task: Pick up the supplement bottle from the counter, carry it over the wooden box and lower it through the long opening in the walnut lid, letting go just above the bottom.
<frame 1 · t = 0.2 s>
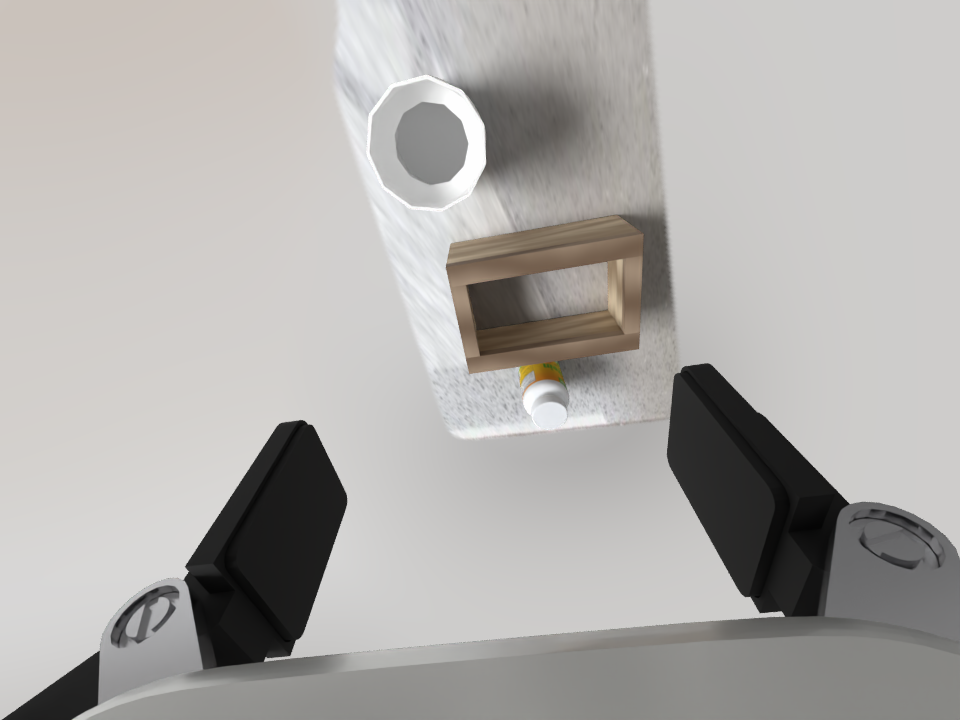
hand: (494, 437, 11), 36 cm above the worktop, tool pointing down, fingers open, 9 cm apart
supplement bottle: (538, 368, 53), on the worktop
vase: (439, 139, 39), on the worktop
wooden box: (537, 281, 47), on the worktop
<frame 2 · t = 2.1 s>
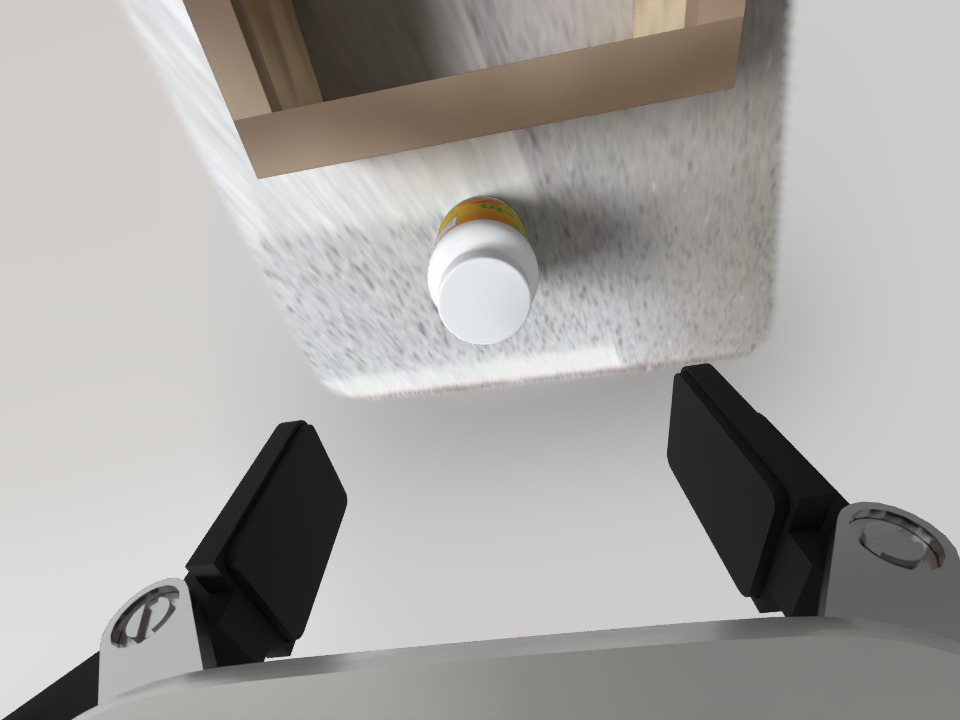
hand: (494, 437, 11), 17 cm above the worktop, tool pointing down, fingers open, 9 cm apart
supplement bottle: (481, 239, 25), on the worktop
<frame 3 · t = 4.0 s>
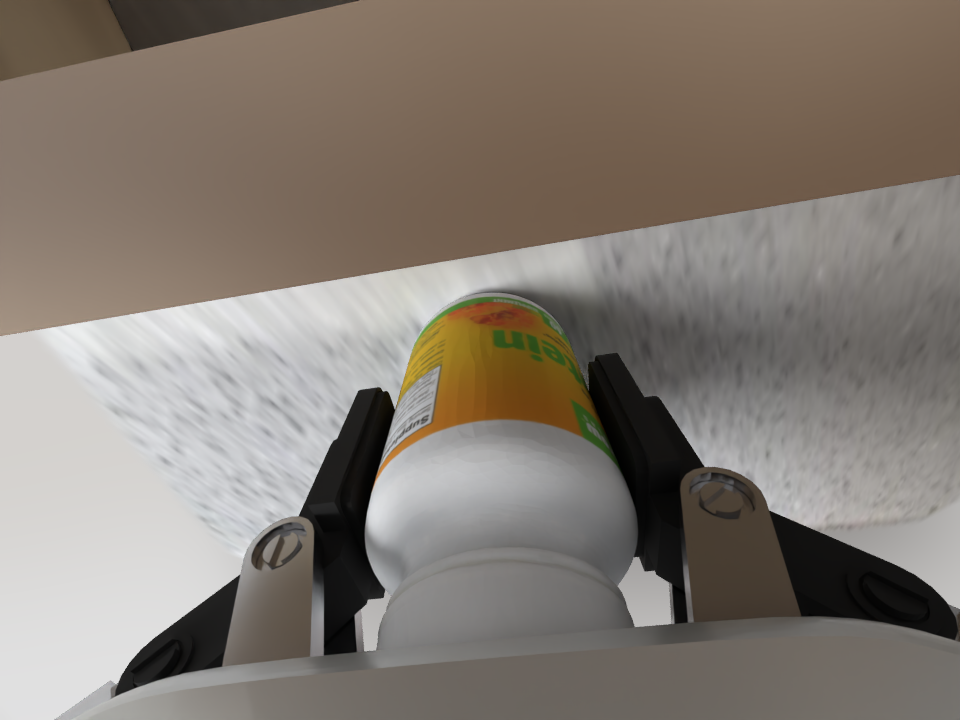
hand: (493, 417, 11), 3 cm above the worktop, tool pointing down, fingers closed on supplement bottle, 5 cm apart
supplement bottle: (491, 359, 14), on the worktop, touching gripper
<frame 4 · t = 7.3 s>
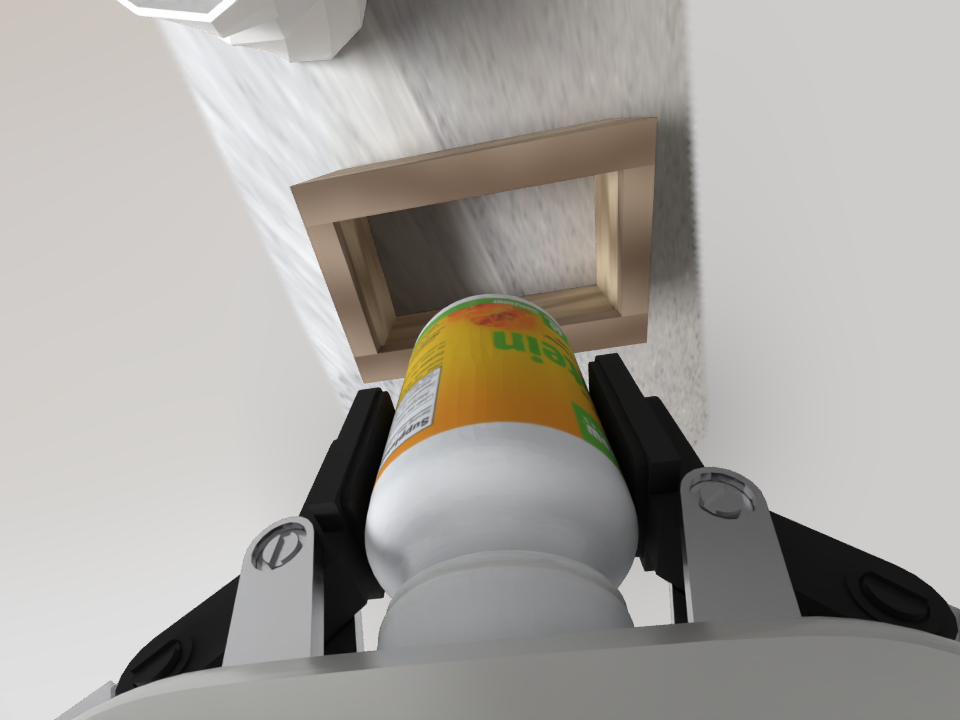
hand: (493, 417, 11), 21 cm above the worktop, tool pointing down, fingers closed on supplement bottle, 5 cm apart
supplement bottle: (491, 360, 14), point 18 cm above the worktop, touching gripper
wooden box: (484, 237, 29), on the worktop
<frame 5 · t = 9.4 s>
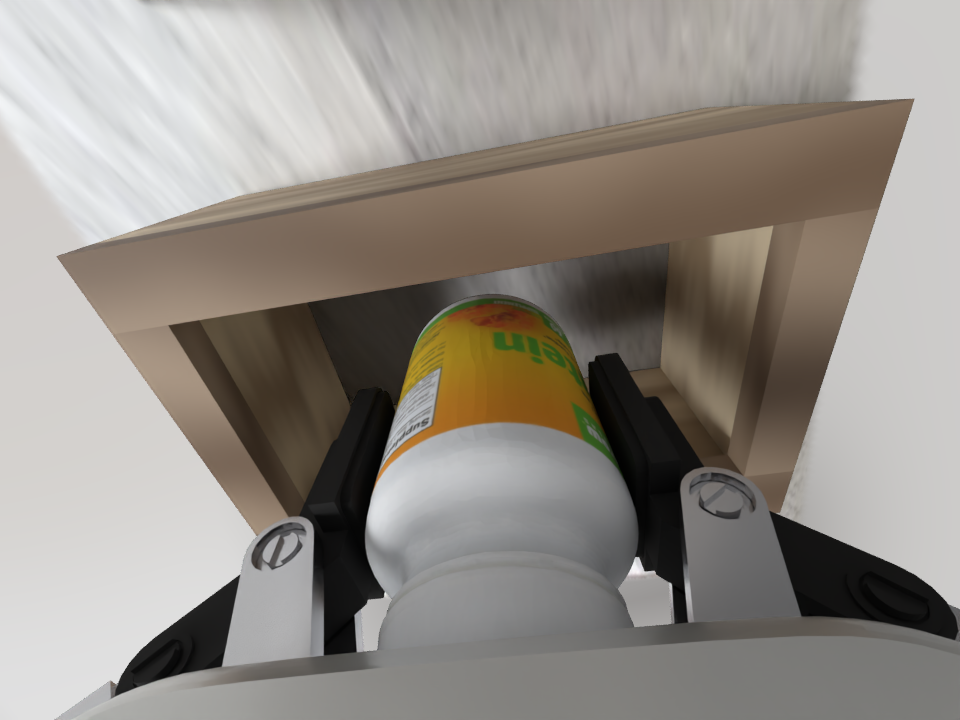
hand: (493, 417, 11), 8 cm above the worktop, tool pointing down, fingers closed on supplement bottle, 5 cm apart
supplement bottle: (491, 360, 14), point 5 cm above the worktop, touching gripper
wooden box: (486, 300, 18), on the worktop
when the fingers open (5 cm above the worktop, at t = 10.9 s): supplement bottle drops 2 cm, resting in wooden box.
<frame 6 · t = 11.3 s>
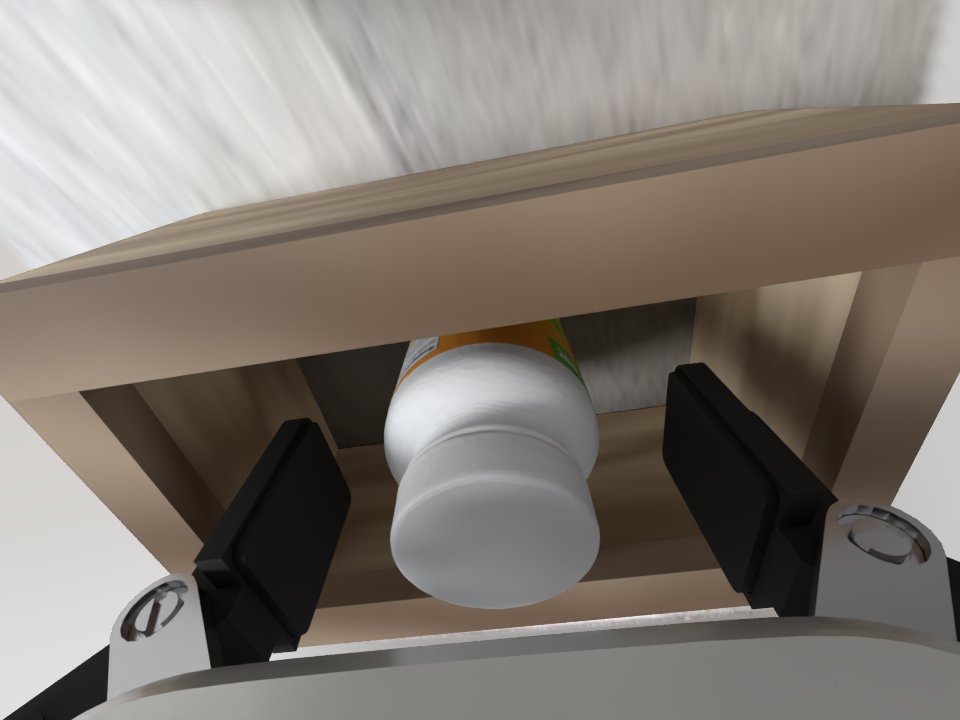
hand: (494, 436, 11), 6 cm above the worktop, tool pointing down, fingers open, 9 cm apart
supplement bottle: (487, 324, 16), resting in wooden box
wooden box: (488, 330, 16), on the worktop
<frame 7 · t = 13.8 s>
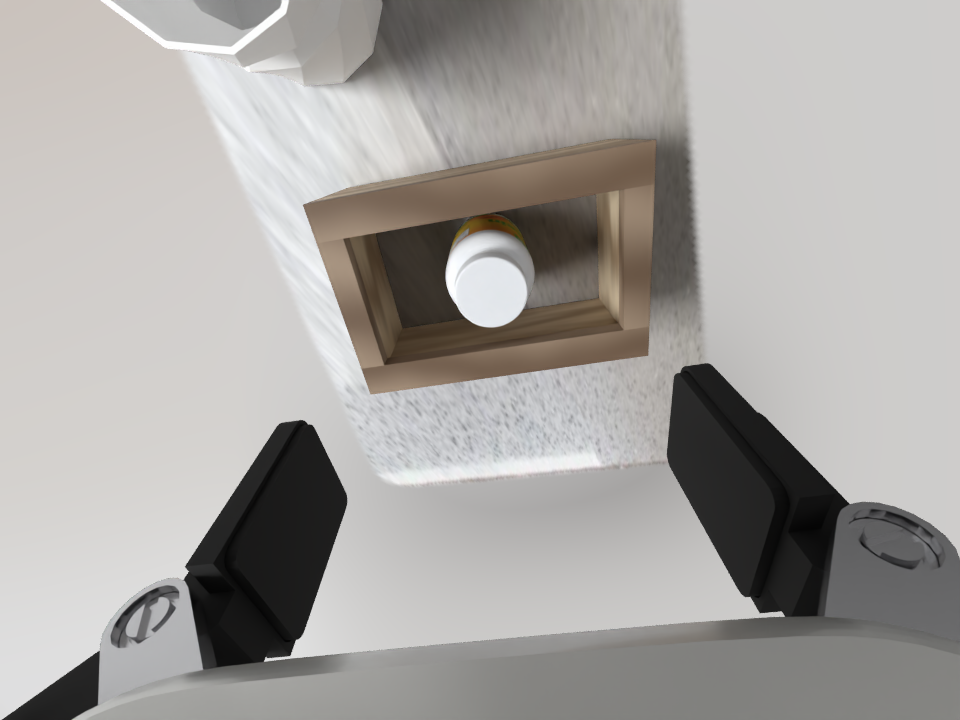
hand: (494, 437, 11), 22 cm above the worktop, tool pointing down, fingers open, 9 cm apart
supplement bottle: (488, 249, 30), resting in wooden box
vase: (309, 0, 23), on the worktop
wooden box: (489, 252, 30), on the worktop
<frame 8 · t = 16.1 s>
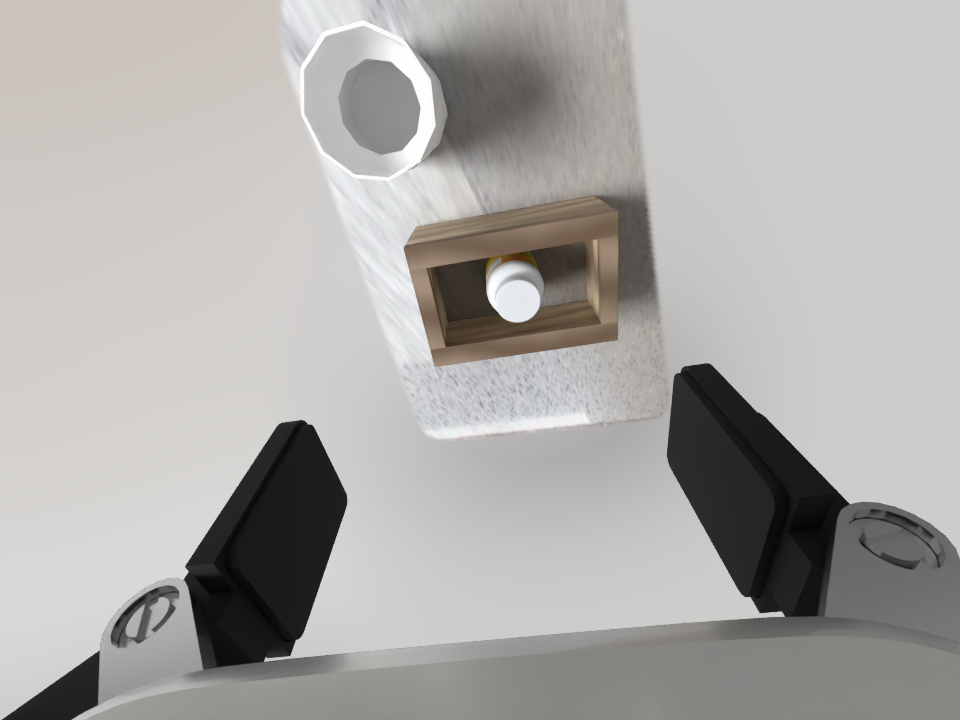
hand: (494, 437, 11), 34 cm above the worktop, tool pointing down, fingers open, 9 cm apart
supplement bottle: (510, 267, 44), resting in wooden box
vase: (399, 111, 36), on the worktop
wooden box: (511, 269, 43), on the worktop
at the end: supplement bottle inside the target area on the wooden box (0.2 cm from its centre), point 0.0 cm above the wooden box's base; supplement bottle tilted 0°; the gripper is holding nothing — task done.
